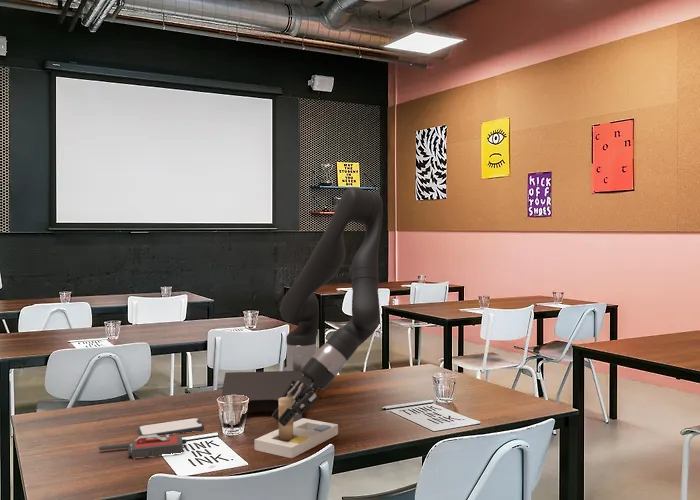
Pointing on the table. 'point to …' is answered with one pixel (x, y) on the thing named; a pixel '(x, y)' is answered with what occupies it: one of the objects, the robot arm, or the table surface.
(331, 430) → the socket plate
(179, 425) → the phone case
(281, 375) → the portable electronic device stand
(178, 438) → the walkie-talkie
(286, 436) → the dowel
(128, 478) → the table surface
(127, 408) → the table surface
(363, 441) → the table surface
